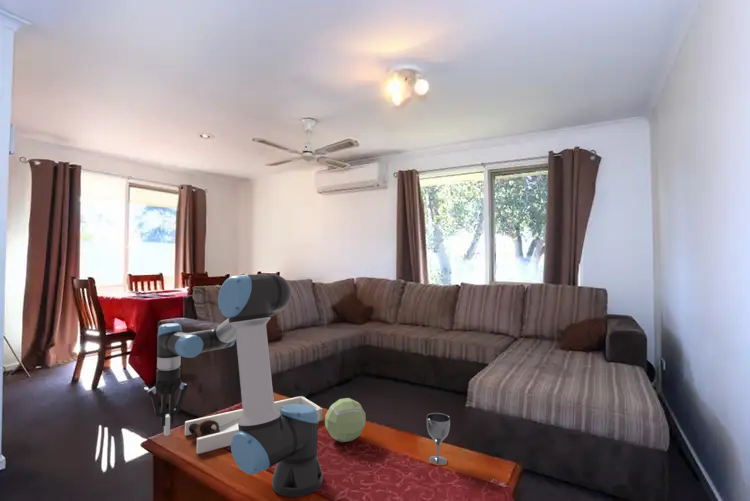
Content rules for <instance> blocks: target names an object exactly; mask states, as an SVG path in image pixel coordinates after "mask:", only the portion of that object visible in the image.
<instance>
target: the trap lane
mask: <svg viewBox="0 0 750 501" xmlns="http://www.w3.org/2000/svg"><path fill="white" fill-rule="evenodd" d="M289 404H302V405H308V406H311V407H313V408H315V409H316V411H317V413H318V422H322V421H323V414H324V413H323V412H324V411H323V410H324V409H323V408H322V407H320V406H319V405H317V404H316V403H315V402H313V401H311V400H310V399H307V398H306V397H305V396H304V395H299V396H294V397H291V398H286V399H281V400H277V401H274V407H275V409H276V410H277V411H278V412H279V411H280V408H281V407H282V406H284V405H289ZM242 416H243V408H239V409H236V410H232V411H227V412H222V413H218V414H217V413H216V414H213V415H208V416H203V417H198V418H195V419H190V420H186V421H184V436H191V435H192V434H191V433H190V431H189V429H188V428H189V426H190V425H191V424H193V423H196V424H200V423H201V422H203V421H205V420H213V421H216V422H217V423H218V425H219V430H220V432H219V433H215V434H211V435H207V436H204V435H202V436H203V437H199V438H198V437H196V448H195V449H196V454H197V455H199V454H203V453H206V452H211V451H214V450H218V449H221V448H226V447H229V446H231V440H232V438H233V436H234V435H235V434H236V433H237V432H239V427H238V422H239V420H240V419H241V418H242ZM211 428H212V429H214V430H216V428H217V427H216V425H215V424H214V425H212V427H211Z"/></svg>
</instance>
